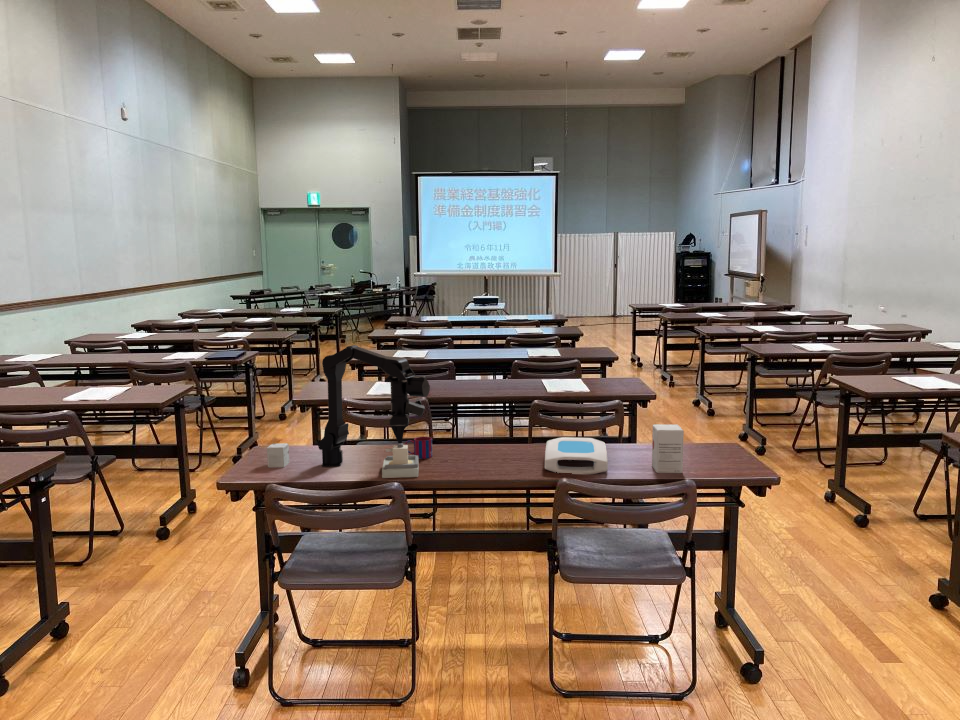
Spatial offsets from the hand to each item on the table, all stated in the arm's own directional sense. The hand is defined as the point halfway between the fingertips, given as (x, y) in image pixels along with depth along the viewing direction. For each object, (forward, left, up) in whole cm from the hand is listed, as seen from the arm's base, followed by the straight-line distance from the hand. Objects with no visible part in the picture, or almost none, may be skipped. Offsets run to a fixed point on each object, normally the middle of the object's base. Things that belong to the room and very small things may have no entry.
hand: (400, 440), depth 240 cm
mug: (+6, +19, -11) cm, 23 cm away
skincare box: (-44, +13, -11) cm, 47 cm away
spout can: (-1, 0, -8) cm, 8 cm away
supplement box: (+91, -8, -11) cm, 92 cm away
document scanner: (+62, +4, -12) cm, 63 cm away
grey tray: (0, 0, -11) cm, 11 cm away
